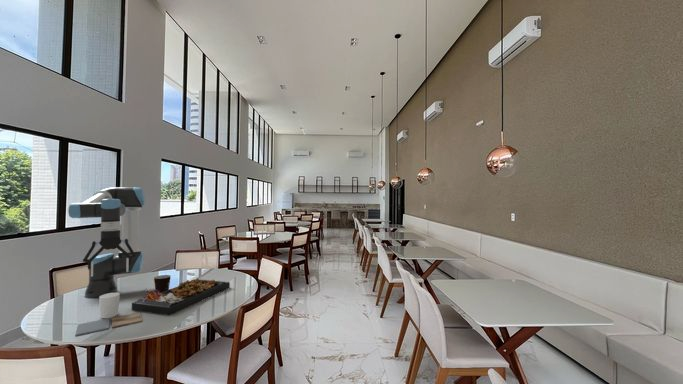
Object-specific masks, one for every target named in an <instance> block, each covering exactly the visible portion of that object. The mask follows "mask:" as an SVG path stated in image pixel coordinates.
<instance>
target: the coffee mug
mask: <svg viewBox="0 0 683 384" xmlns="http://www.w3.org/2000/svg"><path fill="white" fill-rule="evenodd" d="M153 281H154V290H158V291H159V293H161V292H164V291H166V290H169V289H170V283H171V275H169V274H161V275H157V276H153ZM155 293H157V292H155Z"/></svg>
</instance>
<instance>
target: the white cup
mask: <svg viewBox="0 0 683 384" xmlns="http://www.w3.org/2000/svg"><path fill="white" fill-rule="evenodd" d="M120 295H121V294H120V293H119V292H115V293H108V294H104V295H101V296H100V297H98V300H99V303H98V304H99V316H100V318H101V319H107V318H109V319H112V317H117V315H118V314H119V309H120V308H119V307H120V297H121V296H120ZM118 316H119V315H118Z"/></svg>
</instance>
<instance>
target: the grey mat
mask: <svg viewBox="0 0 683 384" xmlns="http://www.w3.org/2000/svg"><path fill="white" fill-rule="evenodd" d="M109 329H110V318H101V319H97V320H93V321H87V322H83V323H77V327H76V332H75V337H78V336H83V335H89V334H91V333H96V332H101V331H105V330H109Z"/></svg>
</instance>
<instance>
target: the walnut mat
mask: <svg viewBox="0 0 683 384" xmlns="http://www.w3.org/2000/svg"><path fill="white" fill-rule="evenodd" d="M142 322H143V318H142V314H141V311H136V312H134V313H133V312H132V313H127V314H124V315H118V316H117V315H116V316H114V317H111V329H114V328H120V327H125V326H128V325H129V326H130V325H133V324H139V323H142Z"/></svg>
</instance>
